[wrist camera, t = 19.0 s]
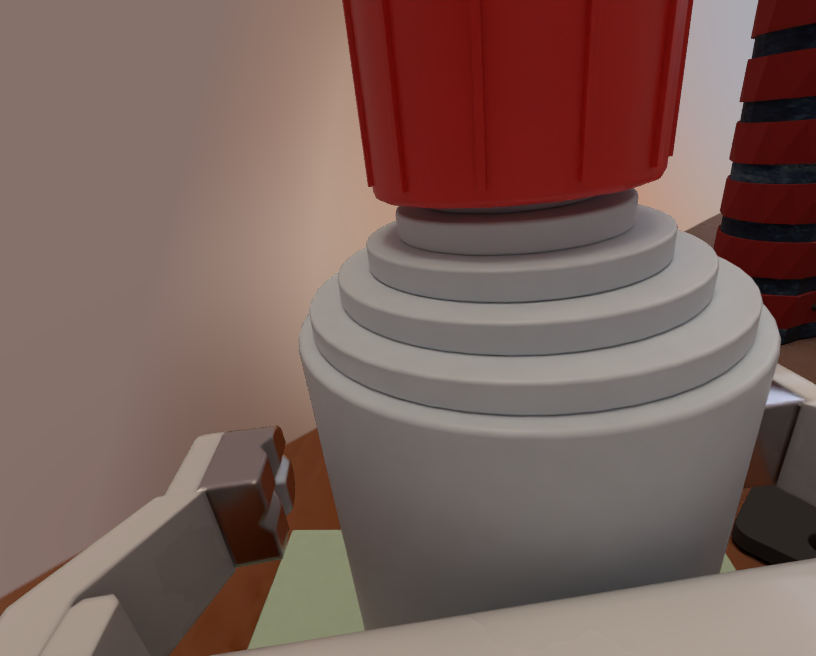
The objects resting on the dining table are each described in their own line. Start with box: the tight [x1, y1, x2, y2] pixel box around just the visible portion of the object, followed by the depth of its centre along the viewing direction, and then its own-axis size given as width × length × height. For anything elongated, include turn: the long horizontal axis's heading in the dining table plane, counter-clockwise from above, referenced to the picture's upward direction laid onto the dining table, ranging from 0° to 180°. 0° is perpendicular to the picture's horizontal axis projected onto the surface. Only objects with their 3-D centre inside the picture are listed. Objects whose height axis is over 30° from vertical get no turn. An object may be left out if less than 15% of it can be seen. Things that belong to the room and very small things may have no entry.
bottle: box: [299, 188, 781, 631], centre depth 8 cm, size 6×6×16 cm
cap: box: [342, 0, 693, 209], centre depth 5 cm, size 4×4×3 cm
